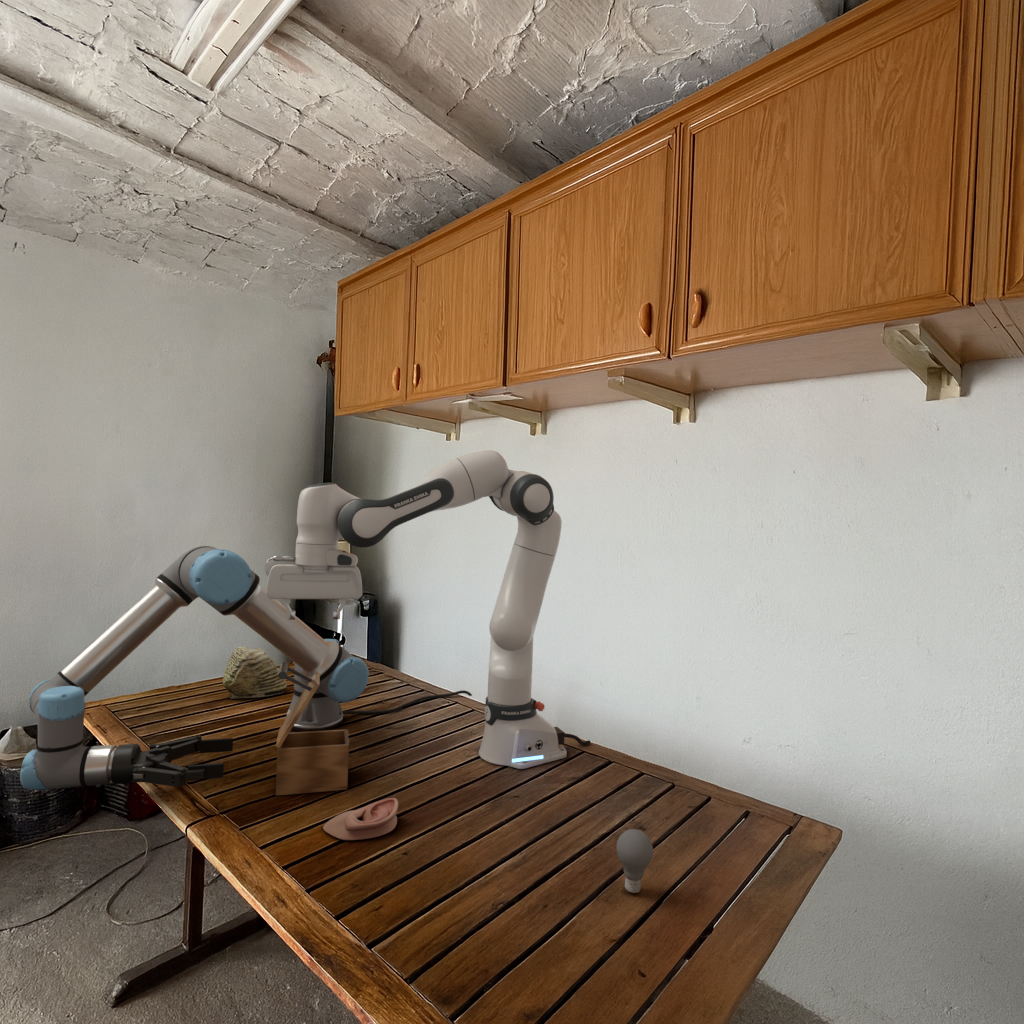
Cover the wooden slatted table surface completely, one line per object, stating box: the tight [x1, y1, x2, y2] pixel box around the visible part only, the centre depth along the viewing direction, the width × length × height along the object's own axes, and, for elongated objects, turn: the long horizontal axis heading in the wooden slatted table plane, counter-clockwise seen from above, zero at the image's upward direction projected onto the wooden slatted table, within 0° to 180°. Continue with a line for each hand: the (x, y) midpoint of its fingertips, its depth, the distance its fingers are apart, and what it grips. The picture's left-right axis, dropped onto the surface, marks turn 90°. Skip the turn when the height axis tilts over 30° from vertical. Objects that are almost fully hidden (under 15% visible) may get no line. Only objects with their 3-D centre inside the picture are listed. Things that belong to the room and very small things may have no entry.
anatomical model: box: [322, 797, 399, 841], centre depth 122 cm, size 13×4×12 cm
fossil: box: [222, 646, 288, 699], centre depth 198 cm, size 9×18×15 cm, turn 132°
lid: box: [275, 661, 320, 749], centre depth 138 cm, size 15×10×8 cm
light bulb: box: [615, 828, 654, 894], centre depth 106 cm, size 6×6×10 cm
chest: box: [275, 728, 350, 796], centre depth 140 cm, size 15×10×10 cm, turn 107°
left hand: (228, 756), depth 135 cm, fingers open, 13 cm apart
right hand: (314, 619), depth 139 cm, fingers open, 8 cm apart
